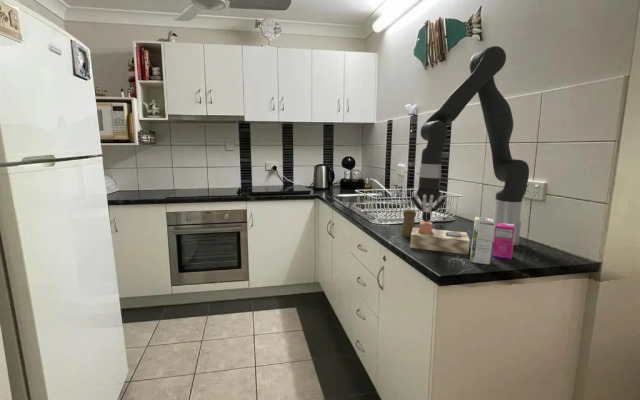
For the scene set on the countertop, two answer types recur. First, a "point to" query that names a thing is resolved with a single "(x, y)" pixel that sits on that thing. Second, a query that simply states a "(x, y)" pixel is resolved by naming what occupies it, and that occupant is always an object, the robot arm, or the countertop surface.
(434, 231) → the block
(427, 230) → the terracotta plug
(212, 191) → the countertop surface
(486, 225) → the syrup box
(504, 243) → the supplement box
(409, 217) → the cork
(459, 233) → the grey plug
